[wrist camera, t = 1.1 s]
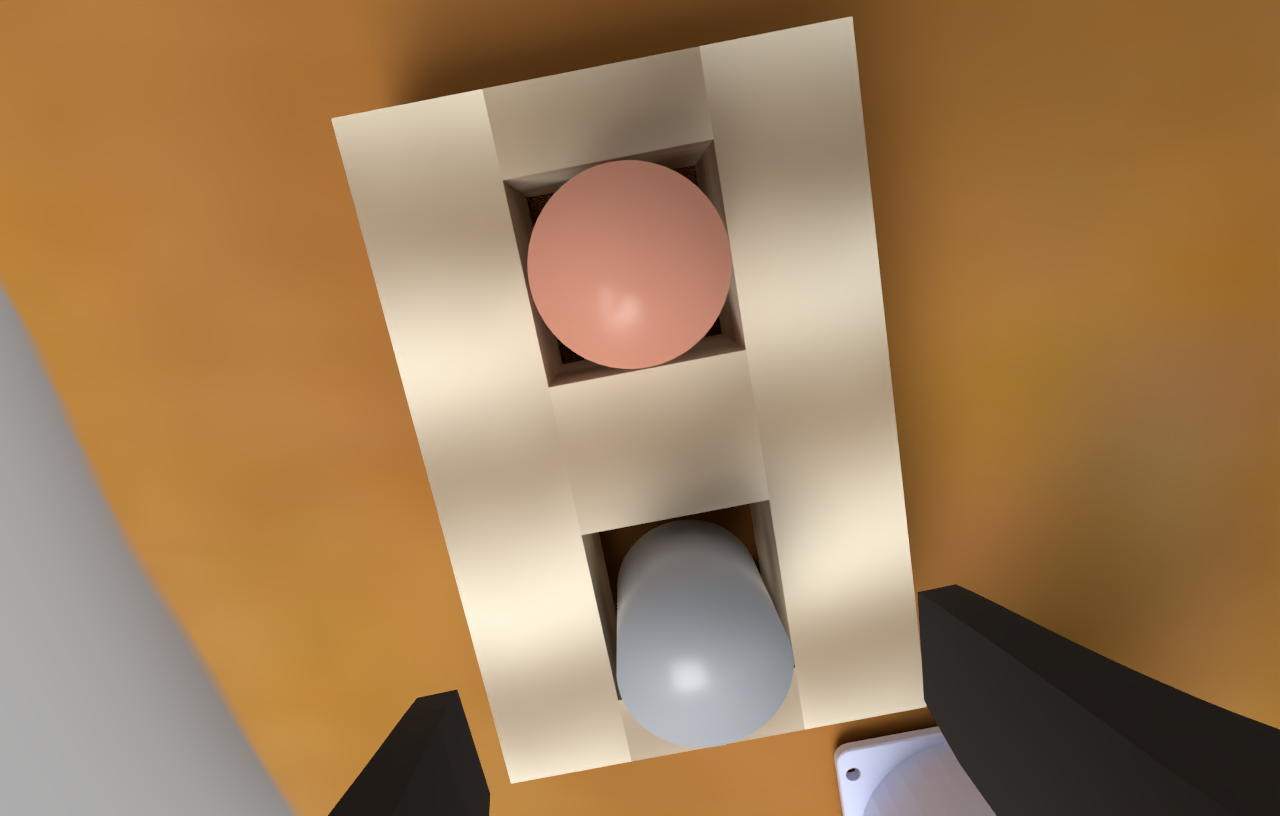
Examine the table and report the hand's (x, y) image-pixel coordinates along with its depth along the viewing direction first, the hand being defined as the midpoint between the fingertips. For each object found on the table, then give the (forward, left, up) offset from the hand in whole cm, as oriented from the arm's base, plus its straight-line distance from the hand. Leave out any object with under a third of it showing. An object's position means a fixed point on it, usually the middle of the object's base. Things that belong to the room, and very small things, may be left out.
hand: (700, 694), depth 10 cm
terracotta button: (+6, 0, -8) cm, 11 cm away
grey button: (-3, 0, -8) cm, 9 cm away
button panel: (+2, 0, -11) cm, 11 cm away
